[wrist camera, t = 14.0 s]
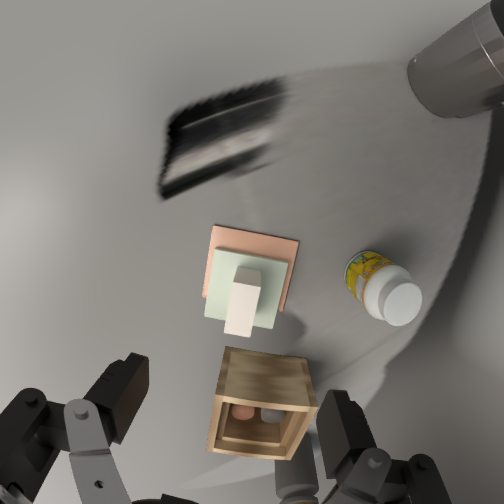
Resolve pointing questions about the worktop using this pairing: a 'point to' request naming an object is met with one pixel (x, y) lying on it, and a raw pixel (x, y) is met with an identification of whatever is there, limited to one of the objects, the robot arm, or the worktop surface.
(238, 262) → the lid
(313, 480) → the bottle
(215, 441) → the crate
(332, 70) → the worktop surface
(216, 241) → the plate
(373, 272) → the supplement bottle
